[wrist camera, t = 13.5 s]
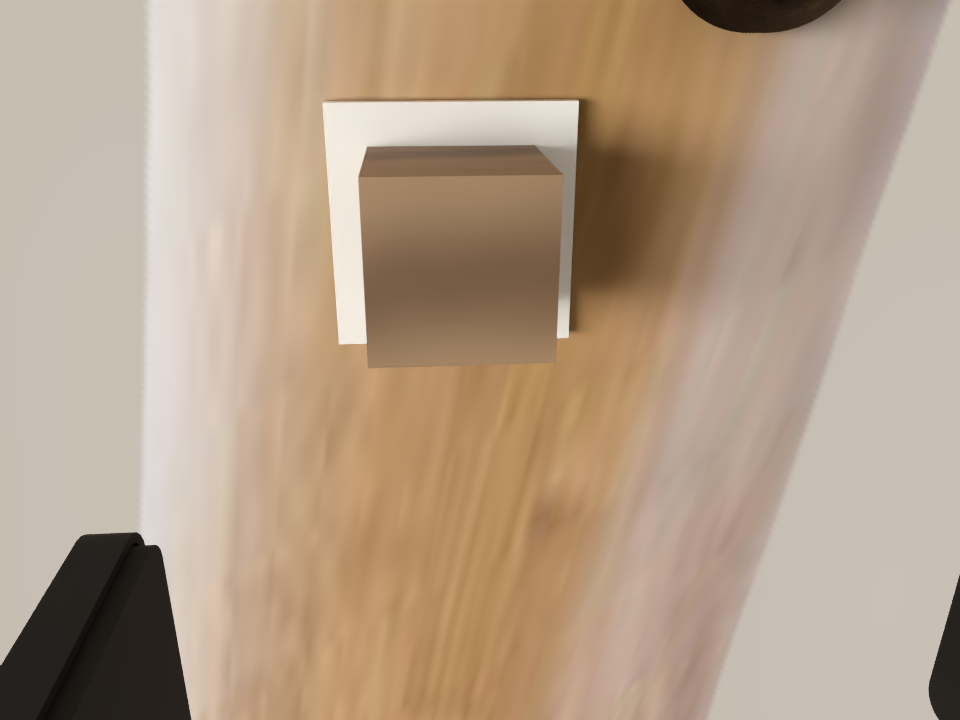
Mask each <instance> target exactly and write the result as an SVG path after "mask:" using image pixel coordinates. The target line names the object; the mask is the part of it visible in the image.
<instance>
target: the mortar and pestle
mask: <svg viewBox="0 0 960 720" xmlns="http://www.w3.org/2000/svg"><path fill="white" fill-rule="evenodd" d="M682 1H683V2H684V3H685V4H686V5H687V6H688V8H689V9H690V10H691V11H693V12H694V13H695V14H696V15H697V16H699V17H700V18H702V19H703V20H705V21H706V22H708V23H710V24H712V25H714V26H716V27H719V28H722V29H725V30H729V31H734V32H742V33H770V32H780V31H786V30H790V29H794V28H797V27H800V26H802V25H805V24H807V23H809V22H811V21H813V20H815V19H817V18H818V17H820V16H822V15H823V14H825V13H826V12H828V11H829V10H830V9H831V8H833V7H834V6H835V5H836V4H838V3H839V2H840V1H841V0H682Z"/></svg>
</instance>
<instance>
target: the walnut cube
mask: <svg viewBox="0 0 960 720" xmlns="http://www.w3.org/2000/svg"><path fill="white" fill-rule="evenodd" d="M358 184H359V203H360V223H361V242H362V261H363V280H364V299H365V318H366V337H367V356H368V368H396V367H430V366H464V365H499V364H533V363H556V346H557V321H558V297H559V272H560V248H561V223H562V199H563V174H562V173H561V172H560V171H559V170H558V169H557V168H556V167H555V166H554V165H553V164H552V163H551V162H550V161H549V159H548V158H547V157H546V156H545V155H544V154H543V153H542V152H541V151H540V150H539V149H538V148H537V147H536V146H535V145H494V146H384V147H367V148H366V152H365V155H364V159H363V162H362V166H361V169H360V173H359V176H358Z"/></svg>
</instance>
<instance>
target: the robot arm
mask: <svg viewBox="0 0 960 720" xmlns="http://www.w3.org/2000/svg"><path fill="white" fill-rule="evenodd" d="M929 698H930V702H931V705H932V708H933V710H934V712H935V714H936V716H937V717H938V719H939V720H960V576H959V579H958V583H957V586H956V590H955V594H954V597H953V600H952V604H951V608H950V611H949V615H948V618H947V622H946V625H945V629H944V632H943V636H942V639H941V643H940V646H939V650H938V654H937V657H936V660H935V664H934V668H933V671H932V675H931V679H930V683H929ZM0 720H191V716H190V710H189V704H188V699H187V693H186V687H185V682H184V676H183V670H182V665H181V659H180V653H179V648H178V642H177V636H176V631H175V625H174V619H173V614H172V608H171V602H170V597H169V591H168V585H167V580H166V574H165V568H164V562H163V557H162V553H161V550H160V548H159V547H158V546H157V545H146V546H145V544H144V540H143V538H142V537H141V535H140V534H138V533H137V532H134V533H111V534H87V535H83V536H81V537H80V538H79V539H78V540H77V541H76V543H75V545H74V546H73V548H72V550H71V551H70V553H69V555H68V556H67V558H66V559H65V561H64V563H63V564H62V566H61V568H60V569H59V571H58V573H57V574H56V576H55V578H54V579H53V581H52V583H51V584H50V586H49V587H48V589H47V591H46V592H45V594H44V596H43V597H42V599H41V601H40V602H39V604H38V606H37V607H36V609H35V611H34V612H33V614H32V616H31V617H30V619H29V621H28V622H27V624H26V625H25V627H24V629H23V630H22V632H21V634H20V635H19V637H18V639H17V640H16V642H15V644H14V645H13V647H12V648H11V650H10V652H9V653H8V655H7V657H6V658H5V660H4V662H3V663H2V665H0Z"/></svg>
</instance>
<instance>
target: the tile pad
mask: <svg viewBox="0 0 960 720" xmlns="http://www.w3.org/2000/svg"><path fill="white" fill-rule="evenodd" d="M578 111H579V101H578V100H576V99H536V100H392V101H324V102H323V116H324V131H325V146H326V160H327V175H328V190H329V204H330V219H331V234H332V248H333V263H334V277H335V292H336V307H337V321H338V336H339V344H366V343H367V337H366V318H365V299H364V280H363V261H362V242H361V223H360V203H359V184H358V176H359V173H360V169H361V166H362V162H363V159H364V155H365V152H366V148H367V147H384V146H494V145H535V146H536V147H537V148H538V149H539V150H540V151H541V152H542V153H543V154H544V155H545V156H546V157H547V158H548V159H549V161H550V162H551V163H552V164H553V165H554V166H555V167H556V168H557V169H558V170H559V171H560V172H561V173H562V174H563V199H562V223H561V248H560V272H559V297H558V321H557V338H568V336H569V314H570V291H571V269H572V246H573V224H574V201H575V179H576V156H577V134H578Z"/></svg>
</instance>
